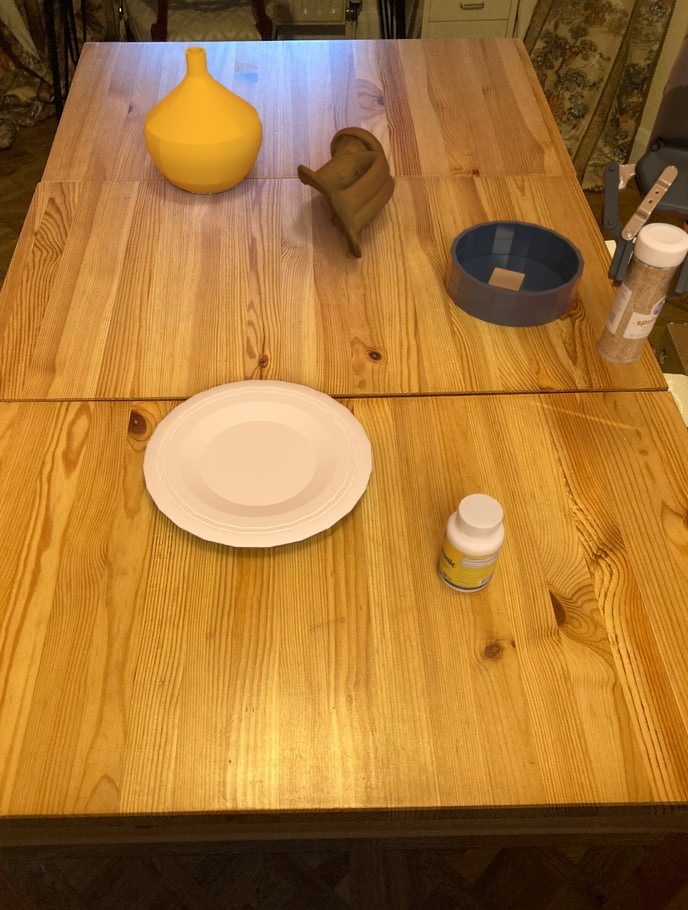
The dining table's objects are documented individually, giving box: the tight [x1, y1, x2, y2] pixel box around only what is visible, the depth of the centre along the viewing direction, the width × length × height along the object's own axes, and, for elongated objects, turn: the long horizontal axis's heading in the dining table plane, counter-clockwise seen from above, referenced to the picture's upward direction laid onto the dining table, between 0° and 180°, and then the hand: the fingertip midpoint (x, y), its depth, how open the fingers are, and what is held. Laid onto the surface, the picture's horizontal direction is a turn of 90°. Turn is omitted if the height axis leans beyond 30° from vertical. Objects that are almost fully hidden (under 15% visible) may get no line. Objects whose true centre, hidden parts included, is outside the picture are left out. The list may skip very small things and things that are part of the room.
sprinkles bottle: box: [595, 222, 688, 366], centre depth 74 cm, size 5×5×14 cm
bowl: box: [444, 219, 585, 328], centre depth 104 cm, size 17×17×6 cm
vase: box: [142, 46, 263, 195], centre depth 117 cm, size 18×18×19 cm
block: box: [488, 268, 525, 292], centre depth 101 cm, size 4×4×4 cm
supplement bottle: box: [437, 493, 506, 593], centre depth 73 cm, size 5×5×10 cm
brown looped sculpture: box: [296, 126, 396, 259], centre depth 112 cm, size 18×13×22 cm
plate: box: [142, 379, 373, 549], centre depth 84 cm, size 25×25×2 cm
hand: (646, 290), depth 70 cm, fingers closed on sprinkles bottle, 4 cm apart
